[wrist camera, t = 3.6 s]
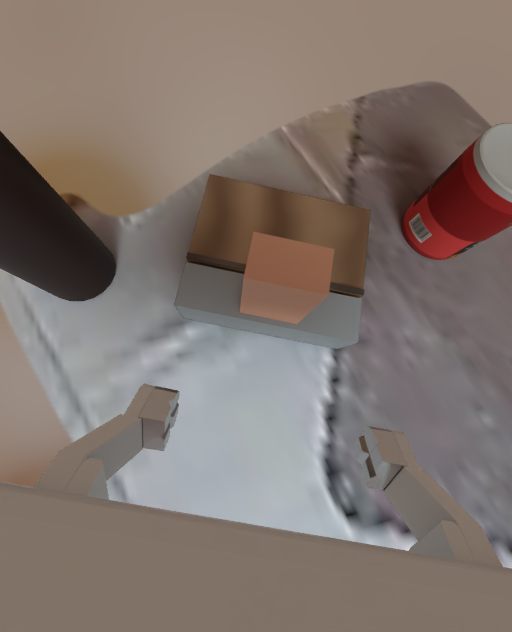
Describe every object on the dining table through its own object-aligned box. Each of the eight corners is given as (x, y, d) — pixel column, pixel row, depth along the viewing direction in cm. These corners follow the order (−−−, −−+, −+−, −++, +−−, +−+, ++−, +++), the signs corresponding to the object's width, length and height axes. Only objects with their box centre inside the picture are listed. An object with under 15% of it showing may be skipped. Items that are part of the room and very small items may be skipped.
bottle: (102, 231, 29) (-146, -61, 10) (127, 284, 28) (-98, 72, 9) (37, 256, 28) (-389, -20, 9) (60, 314, 27) (-369, 140, 8)
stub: (341, 312, 29) (421, 260, 17) (337, 349, 28) (419, 322, 16) (193, 281, 29) (164, 204, 16) (183, 318, 28) (145, 265, 15)
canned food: (452, 273, 32) (562, 218, 21) (390, 241, 32) (468, 172, 22) (469, 222, 34) (579, 148, 23) (411, 193, 34) (492, 107, 23)
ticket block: (349, 236, 32) (371, 208, 27) (341, 310, 30) (363, 295, 25) (213, 206, 31) (209, 172, 26) (194, 279, 29) (186, 257, 24)
